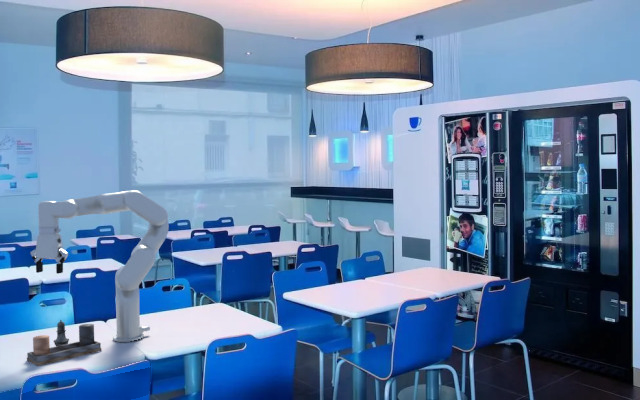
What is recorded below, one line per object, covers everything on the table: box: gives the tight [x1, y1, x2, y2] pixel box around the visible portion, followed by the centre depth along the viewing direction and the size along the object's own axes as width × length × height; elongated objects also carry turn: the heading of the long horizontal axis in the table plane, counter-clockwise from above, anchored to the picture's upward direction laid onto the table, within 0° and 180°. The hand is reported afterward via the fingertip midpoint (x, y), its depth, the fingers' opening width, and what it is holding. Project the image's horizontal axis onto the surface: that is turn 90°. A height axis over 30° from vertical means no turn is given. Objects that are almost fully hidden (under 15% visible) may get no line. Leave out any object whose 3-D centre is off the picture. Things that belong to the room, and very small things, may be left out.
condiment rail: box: [26, 323, 102, 367], centre depth 236 cm, size 25×10×10 cm, turn 138°
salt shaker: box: [53, 319, 70, 347], centre depth 246 cm, size 6×6×12 cm
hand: (49, 272), depth 249 cm, fingers open, 9 cm apart
